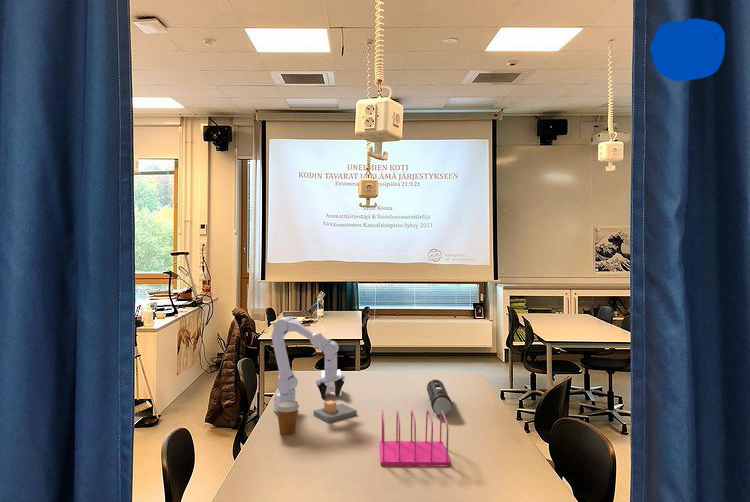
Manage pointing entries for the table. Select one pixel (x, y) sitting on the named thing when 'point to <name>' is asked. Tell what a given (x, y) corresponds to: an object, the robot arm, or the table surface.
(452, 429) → the table surface
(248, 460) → the table surface
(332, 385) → the cable organizer
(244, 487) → the table surface
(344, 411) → the socket plate
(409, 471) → the table surface
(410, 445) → the file sorter
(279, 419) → the disposable coffee cup
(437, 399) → the perforated grey cylinder
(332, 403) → the orange rectangular block
